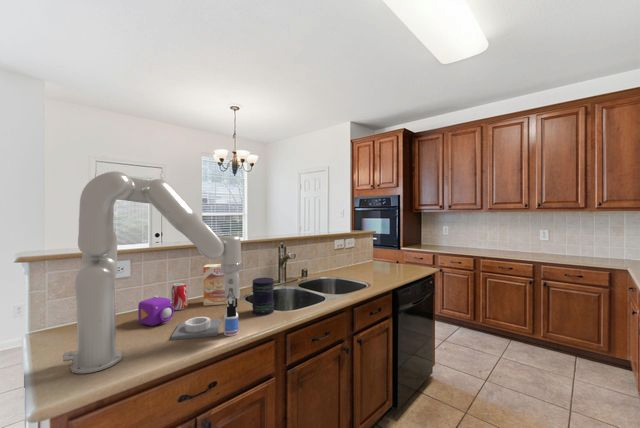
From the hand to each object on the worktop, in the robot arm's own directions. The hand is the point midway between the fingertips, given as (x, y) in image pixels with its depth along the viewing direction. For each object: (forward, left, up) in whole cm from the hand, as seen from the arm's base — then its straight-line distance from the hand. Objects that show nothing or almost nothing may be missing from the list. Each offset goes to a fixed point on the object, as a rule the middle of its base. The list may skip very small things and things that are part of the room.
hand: (232, 311), depth 112 cm
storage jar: (+12, +21, -8) cm, 26 cm away
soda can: (-27, +35, -8) cm, 45 cm away
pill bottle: (-1, 0, -8) cm, 8 cm away
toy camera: (-32, +19, -8) cm, 38 cm away
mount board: (-14, +6, -8) cm, 17 cm away
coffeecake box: (-9, +40, -8) cm, 42 cm away
